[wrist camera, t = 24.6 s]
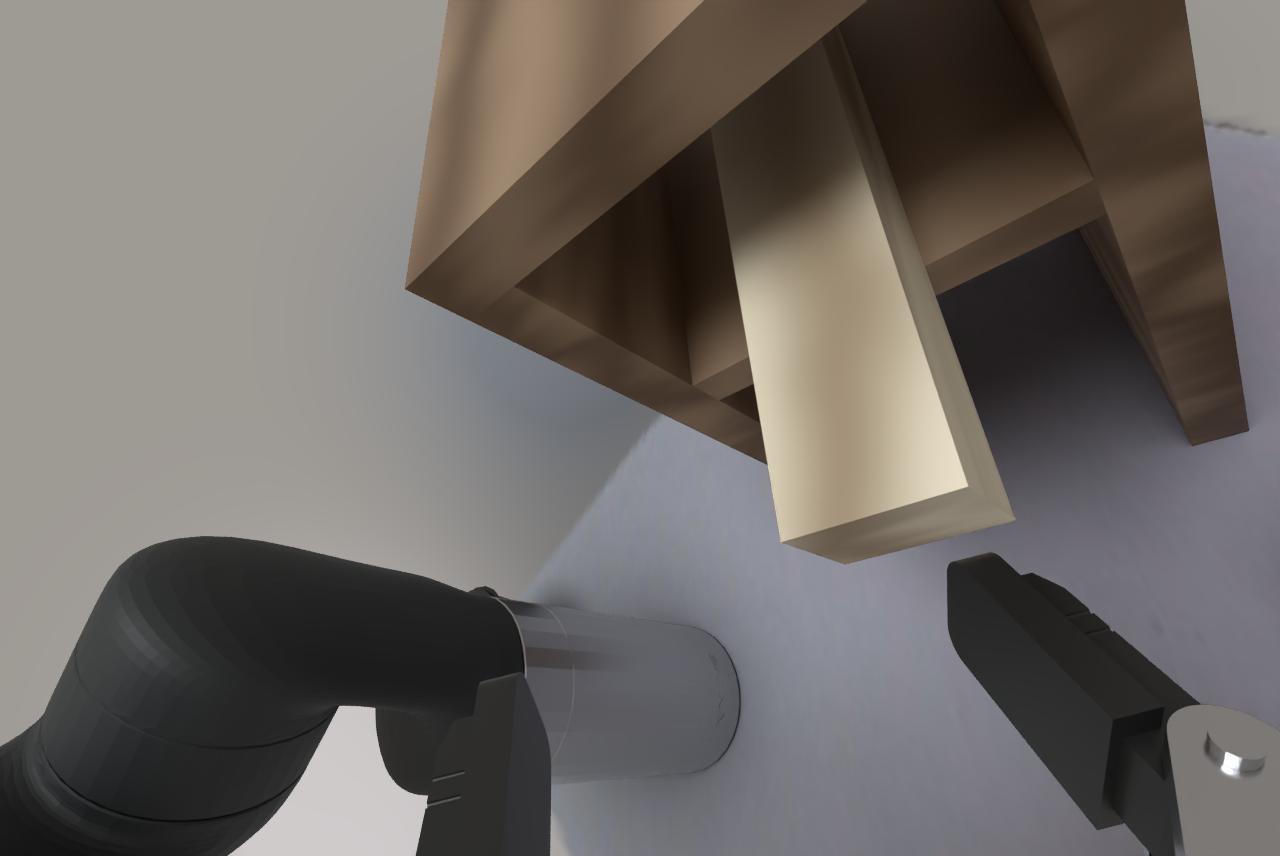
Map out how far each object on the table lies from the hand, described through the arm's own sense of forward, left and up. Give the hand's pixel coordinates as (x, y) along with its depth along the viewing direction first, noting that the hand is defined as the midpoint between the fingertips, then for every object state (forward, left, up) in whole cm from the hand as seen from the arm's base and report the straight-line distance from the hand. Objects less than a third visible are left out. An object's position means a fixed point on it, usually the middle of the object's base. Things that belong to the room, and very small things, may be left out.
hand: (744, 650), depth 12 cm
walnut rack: (+2, +17, -26) cm, 31 cm away
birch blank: (+2, +12, -5) cm, 13 cm away
